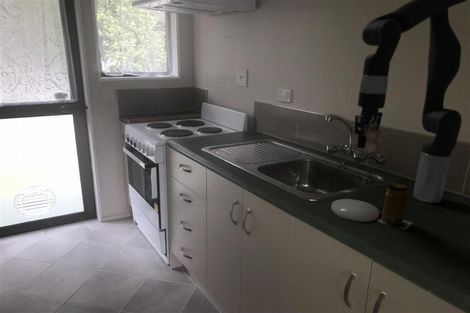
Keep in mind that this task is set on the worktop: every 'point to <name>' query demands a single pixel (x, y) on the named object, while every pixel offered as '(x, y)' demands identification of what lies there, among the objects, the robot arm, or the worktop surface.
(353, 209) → the dish
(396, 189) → the condiment
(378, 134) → the block
